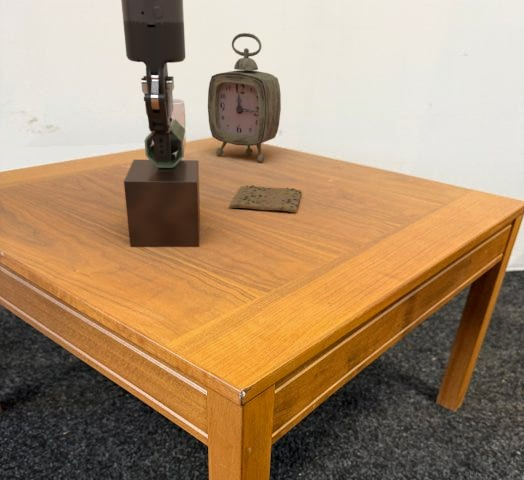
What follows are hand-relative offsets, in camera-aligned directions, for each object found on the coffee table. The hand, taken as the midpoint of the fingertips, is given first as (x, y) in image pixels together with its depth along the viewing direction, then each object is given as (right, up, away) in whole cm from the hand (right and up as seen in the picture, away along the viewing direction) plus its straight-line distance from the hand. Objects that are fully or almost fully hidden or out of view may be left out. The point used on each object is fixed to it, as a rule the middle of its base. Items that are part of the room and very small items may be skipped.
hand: (163, 160), depth 78 cm
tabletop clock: (+10, +18, +50) cm, 54 cm away
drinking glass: (-4, +5, +30) cm, 30 cm away
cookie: (+15, 0, +23) cm, 27 cm away
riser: (-1, -8, +8) cm, 12 cm away
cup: (-1, +2, +7) cm, 7 cm away
